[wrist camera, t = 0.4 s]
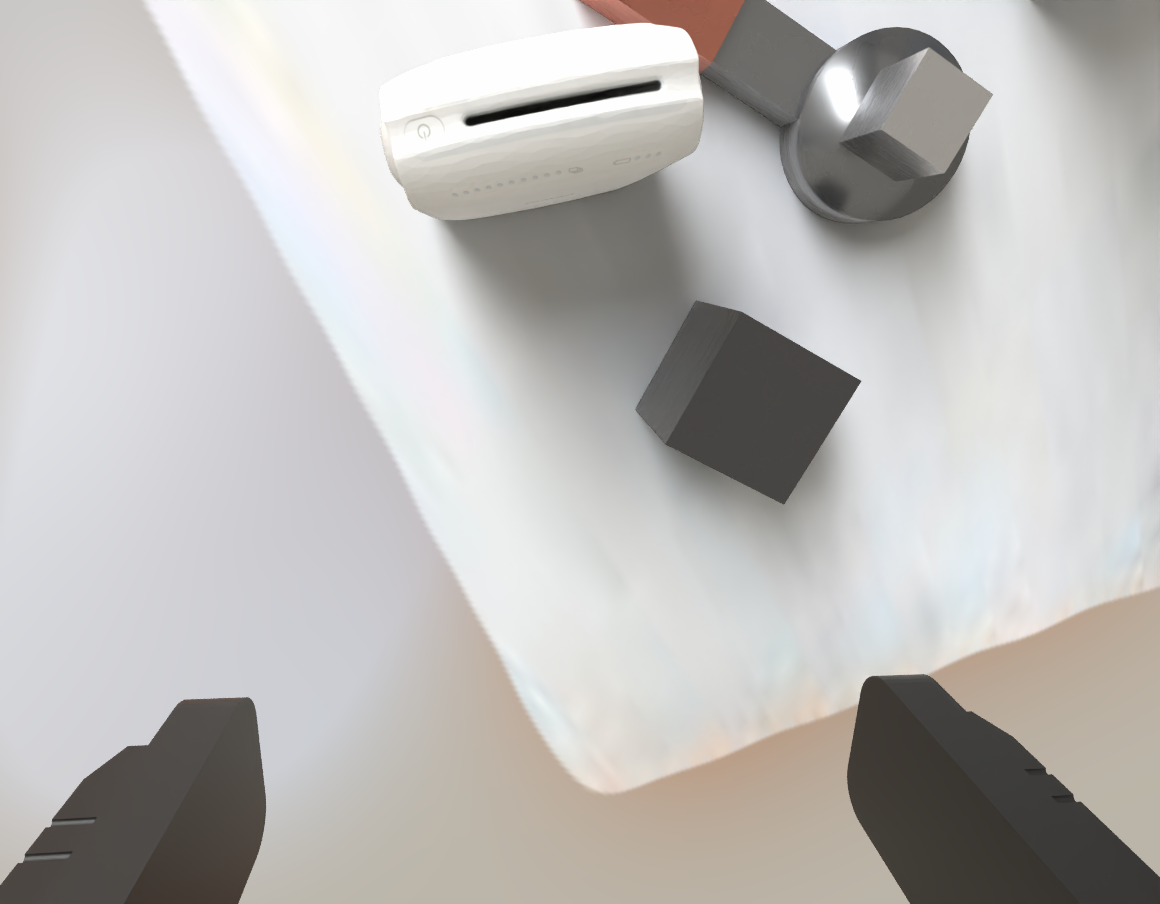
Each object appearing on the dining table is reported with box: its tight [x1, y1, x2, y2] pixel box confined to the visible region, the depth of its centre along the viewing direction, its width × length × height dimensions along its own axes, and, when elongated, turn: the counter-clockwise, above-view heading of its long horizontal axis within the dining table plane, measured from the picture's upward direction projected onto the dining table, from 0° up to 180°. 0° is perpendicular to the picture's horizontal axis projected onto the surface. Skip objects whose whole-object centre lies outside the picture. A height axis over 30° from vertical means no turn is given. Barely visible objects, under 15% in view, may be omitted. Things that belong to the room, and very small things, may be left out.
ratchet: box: [580, 0, 993, 223], centre depth 28 cm, size 8×18×6 cm, turn 62°
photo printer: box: [379, 23, 704, 220], centre depth 25 cm, size 10×4×12 cm, turn 101°
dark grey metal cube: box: [635, 301, 861, 504], centre depth 31 cm, size 6×6×6 cm
